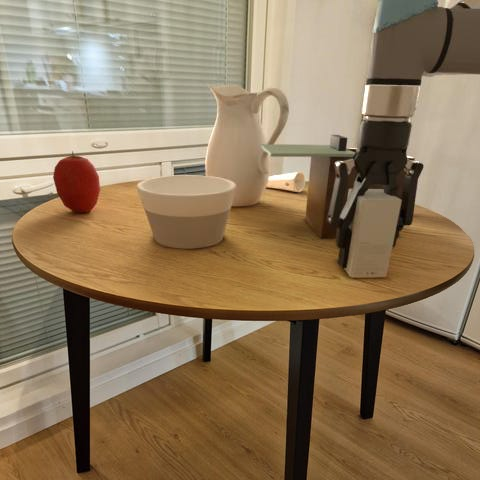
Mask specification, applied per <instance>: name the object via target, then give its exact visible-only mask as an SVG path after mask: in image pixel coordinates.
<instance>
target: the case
mask: <svg viewBox="0 0 480 480" xmlns="http://www.w3.org/2000/svg"><path fill="white" fill-rule="evenodd" d="M346 149H348V150H350V151H353V152H356V150H357V147H352V148H351V147H346ZM407 157H408V160H410V161H416V160H415V158H416V157H413V156H410V155H407ZM349 159H352V157H310V164H309V165H310V166H309V176H308V186H307V196H306V207H305V217H304V220H305V221H306V223H307V224H308V225H309V226H310V227H311V229H312V230H313V231H314V232H315V233H316V234H317V235H318V236H319V238H320V239H336V233H337V227H333V226H332V225H331V224H330V223H329V222H328V221H327V216H328V212H329V207H330V202H331V197H332V192H333V188H334V183H335V178H336V173H335V162H336V161H338V160H340V161H346V160H349ZM357 175H358V174H357V172H356V170H355V168H354V167H353V168H352V169H351V173H350V174H349V175H348V182H347V187H346V191H345V196H344V200H343V205H342V209H341V213H342V210H343V208H344V206H345V204H346V202H347V198H348V191H349V189H353V187H354V182H355V180H356V177H357ZM404 176H405V173H404V168H403V169H402V170H401V171H400V173H399V174H398V175H397V185H398V188H397V195H398V198H399V199H401V198H402V189H403V181H404ZM369 189H383V187H382V184H375V185H370V187H369ZM340 215H341V214H340ZM400 232H401V231H399V232H398V236H397V238H399V236H400Z"/></svg>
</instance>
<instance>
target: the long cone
mask: <svg viewBox="0 0 480 480" xmlns="http://www.w3.org/2000/svg"><path fill="white" fill-rule="evenodd" d="M305 185H306V176H305V174H304V173H303V172H302V171H297V172H290V173H283V174H277V175H276V174H275V175H269V180H268V184H267V186H266V188H270V189H274V190H281V191H287V192H294V193H301V192H302V191H303V190H304V188H305Z"/></svg>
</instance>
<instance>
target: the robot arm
mask: <svg viewBox="0 0 480 480" xmlns="http://www.w3.org/2000/svg"><path fill="white" fill-rule="evenodd" d="M438 5H439V1H438V0H378V3H377V8H376V13H375V19H374V24H373V28H372V30H371V34H372V37H371V45H370V52H369V59H368V67H367V76H366V81H365V87H364V92H363V93H364V94H363V100H362V107H361V115H362V116H363V117H364V119H362V120H361V121H360V122H359V128H358V134H357V140H356V148H357V150H356V152H355V154H354V156H353V157H352V159H349V160H346V161H340V160H338V161H336V162H335V173H336V178H335V183H334V188H333V192H332V197H331V202H330V207H329V212H328V216H327V221H328V222H329V223H330V224H331V225H332V226H333V227H337V233H336V238H335V241H334V244H335V246H336V247H337V248H338V249H339V250H338V258H337V264H338V265H339V266H340V267H341V269H344V268H347V262H348V256H349V250H350V243H351V237H352V230H351V229H349V228H348V227H349V225H350V223H351V221H352V219H353V217H354V215H355V210H356V204H357V198H358V196H364V194H365V192H366V191H367V190H368V189H369V187H370V185H375V184H382V187H383V189H384V193H386V194H388V195H390V196H396V197H397V198H398V195H397V188H398V185H397V175H398V174H399V173H400V171H401V170H402V169H403V168H404V173H405V176H404V181H403V189H402V198H401V200H402V202H401V207H400V212H399V217H398V222H397V227H396V232H395V237H394V242H393V247H392V248H395V247H396V245H397V241H398V237H397V236H398V232H399V231H400V232H401V231H402V230H403V229H404V227H405V226H408V227H410V226H411V225H412V223H413V220H414V212H415V205H416V198H417V191H418V185H419V184H418V183H419V178H420V177H421V174H422V172H423V169H424V164H423V163H422V162H420V161H417V160H414V161H410V160H408V157H407V156H408V155H407V150H408V148H409V145H410V140H411V135H412V130H413V124H412V121H410V119H411V118H413V117H415V115H416V110H417V105H418V99H419V94H420V89H421V88H420V87H421V85H422V78H423V77H427V78H431V77H436V76H457V75H480V0H459V1H458V2H457V3H455V4H454V5H453V6H452V7H450V8H449V7H443V6H438ZM353 167H354V168H355V170H356V172H357V174H358V175H357V177H356V180H355V182H354V187H353V189H352V191H351V193H350V195H349V197H348V200H347V202H346V204H345V206H344V208H343V210H342V213H341V209H342V205H343V200H344V196H345V191H346V187H347V182H348V175H349V174H350V173H351V169H352V168H353ZM340 214H341V215H340ZM400 232H399V233H400Z"/></svg>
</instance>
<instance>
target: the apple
mask: <svg viewBox="0 0 480 480" xmlns="http://www.w3.org/2000/svg"><path fill="white" fill-rule="evenodd" d="M71 153H72V155H69V156H66V157H64V158H62V159H60V160H59V161H58V162H57V163H56V165H55V167H54V170H53V176H52V179H53V182H54V187H55V190H56V194H57V196H58V197H59V199H60V200H61V203H62V204H63V205H64V207H66V208H67V209H69V210H70V211H72V213H78V214H87V213H90V212H92V210H93V209H94V208H95V206H96V205H97V203H98V199H99V196H100V193H101V186H100V185H101V184H100V176H99V174H98V172H97V170H96V168H95V166H94V164H93V163H92V162H91V160H89V159H88V158H87V157H83V156H80V155H74V151H73V150H72V151H71Z"/></svg>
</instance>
